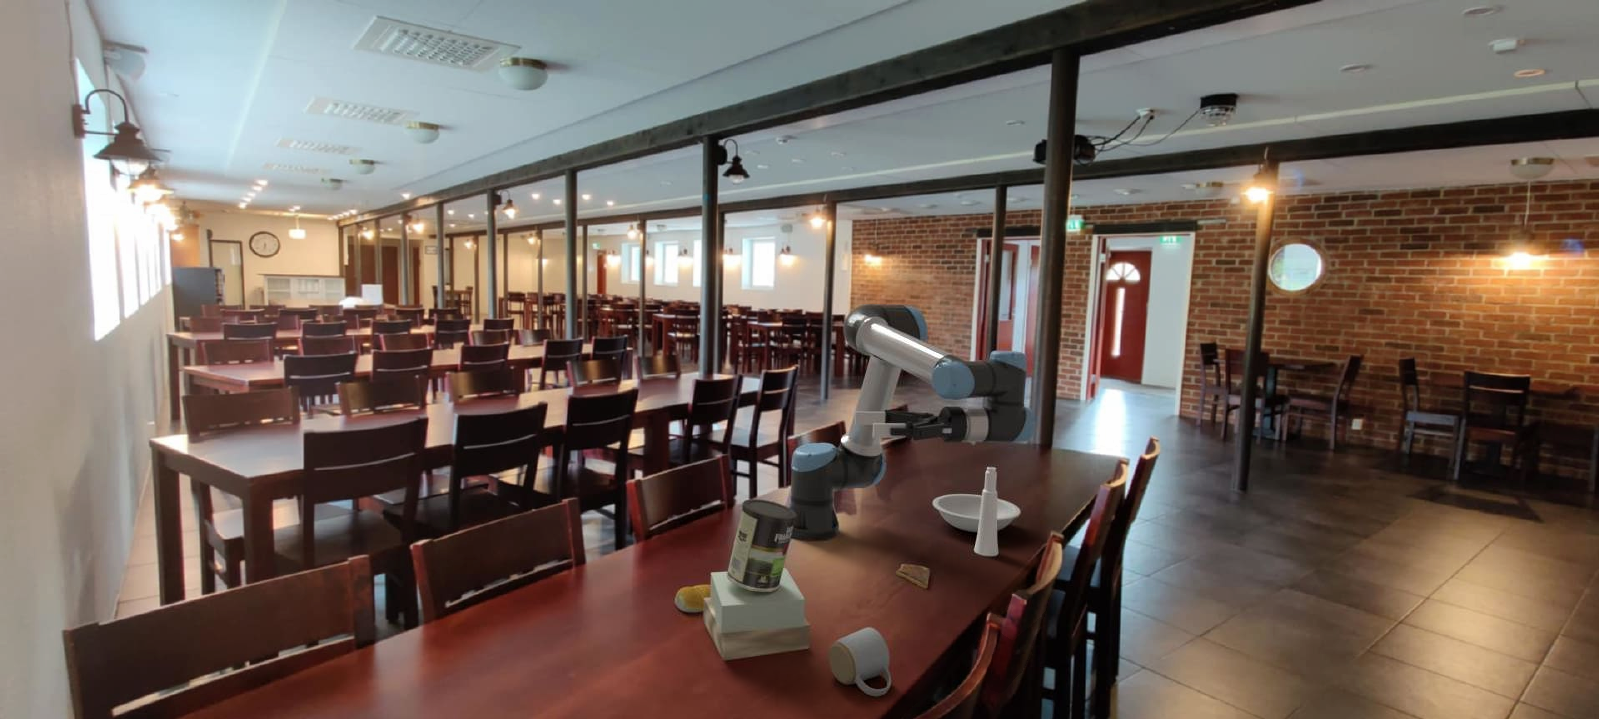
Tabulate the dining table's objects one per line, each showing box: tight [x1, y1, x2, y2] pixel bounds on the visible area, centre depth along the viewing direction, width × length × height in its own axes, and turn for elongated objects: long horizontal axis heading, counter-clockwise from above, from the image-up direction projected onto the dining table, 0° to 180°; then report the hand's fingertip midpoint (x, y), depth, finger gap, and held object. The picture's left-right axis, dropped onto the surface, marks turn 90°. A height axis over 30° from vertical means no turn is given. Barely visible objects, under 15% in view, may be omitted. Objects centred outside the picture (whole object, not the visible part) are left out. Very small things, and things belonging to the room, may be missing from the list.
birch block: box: [702, 598, 811, 662], centre depth 136 cm, size 16×16×5 cm
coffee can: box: [726, 498, 797, 592], centre depth 135 cm, size 10×10×14 cm
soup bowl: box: [932, 493, 1021, 533], centre depth 203 cm, size 24×24×7 cm
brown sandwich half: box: [895, 563, 931, 590], centre depth 166 cm, size 11×8×2 cm
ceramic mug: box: [827, 626, 892, 697], centre depth 121 cm, size 11×8×8 cm
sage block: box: [710, 567, 806, 633], centre depth 136 cm, size 15×15×5 cm
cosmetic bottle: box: [973, 466, 999, 557], centre depth 184 cm, size 6×6×22 cm
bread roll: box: [674, 584, 711, 613], centre depth 148 cm, size 8×9×4 cm
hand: (863, 424), depth 148 cm, fingers open, 13 cm apart
